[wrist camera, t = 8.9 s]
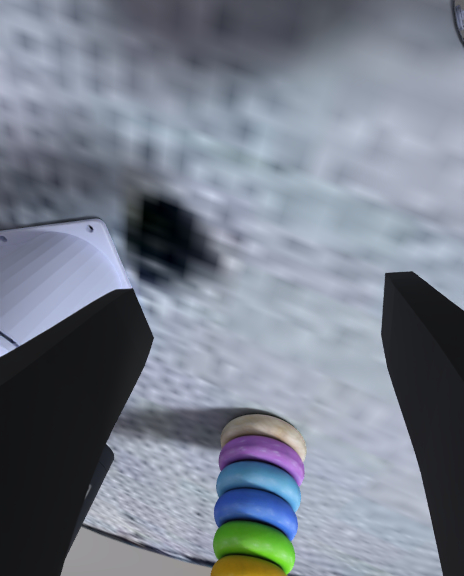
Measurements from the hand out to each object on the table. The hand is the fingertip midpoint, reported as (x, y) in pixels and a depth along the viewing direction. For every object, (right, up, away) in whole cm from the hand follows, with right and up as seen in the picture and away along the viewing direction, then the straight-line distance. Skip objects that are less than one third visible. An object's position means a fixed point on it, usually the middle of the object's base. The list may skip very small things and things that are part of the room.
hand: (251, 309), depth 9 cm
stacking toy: (+2, -13, +22) cm, 26 cm away
